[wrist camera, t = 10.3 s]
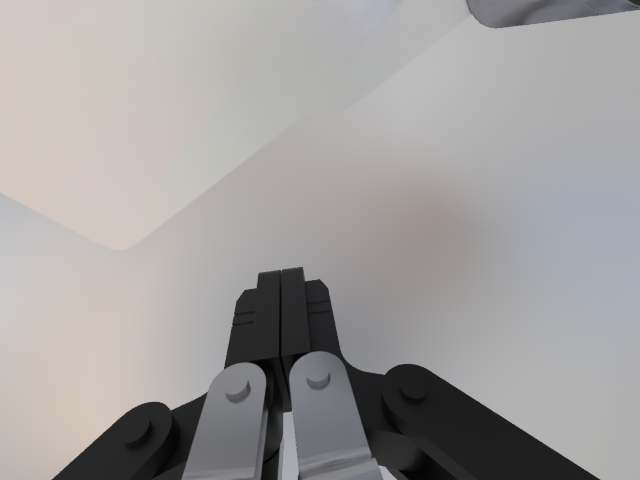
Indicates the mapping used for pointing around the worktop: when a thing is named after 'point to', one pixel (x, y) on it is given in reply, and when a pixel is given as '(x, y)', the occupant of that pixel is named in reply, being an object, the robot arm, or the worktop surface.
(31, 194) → the worktop surface
